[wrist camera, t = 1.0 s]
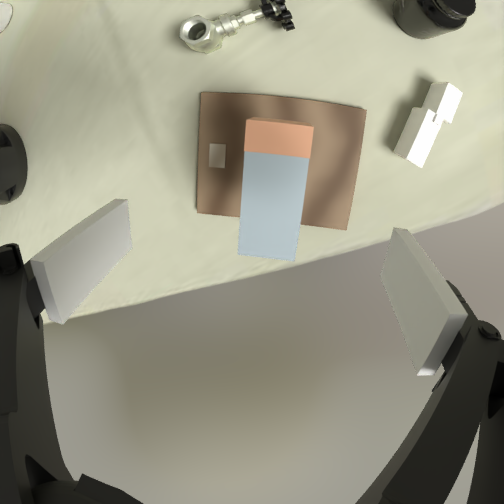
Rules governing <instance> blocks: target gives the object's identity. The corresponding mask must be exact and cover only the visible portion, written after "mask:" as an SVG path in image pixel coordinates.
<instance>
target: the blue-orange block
mask: <svg viewBox="0 0 504 504" xmlns="http://www.w3.org/2000/svg"><path fill="white" fill-rule="evenodd" d="M313 131H314V127H313V126H312V125H311V124H309V123H304V122H297V121H288V120H279V119H269V118H258V117H253V118H250V119H247V120H246V130H245V143H244V151H245V154H244V168H243V182H242V197H241V212H240V227H239V243H238V255H245V256H254V257H262V258H271V259H279V260H288V261H295V255H296V249H297V243H298V236H299V230H300V223H301V216H302V209H303V202H304V195H305V188H306V181H307V173H308V165H309V158H310V155H311V147H312V139H313Z"/></svg>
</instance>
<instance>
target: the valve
mask: <svg viewBox="0 0 504 504" xmlns="http://www.w3.org/2000/svg"><path fill="white" fill-rule="evenodd" d="M261 2H262V5H259V6H260V9H259V10H256V11H253V12H252V10H251V9H248V10H246V11H243V12H240V14H241V15H240V16H237V17H236V16H235V15H232V16H230V17H229V15H228V14H227V13H226V14H223V15H221V16H219V19H218V20H215V21H210V20H206V19H205V18H203V17H201V16H199V15H196V16H194V17H191V18H189V19H187V20H185V21H184V22H182V24H181V28H180V35H179V38H181V39H182V40H184V41H185V42H186V44H187V45H188V46H189V47H190V48H191V49H193V50H195V51H198V52H205V53H206V54H209V53H211V52H213V51H215V50H218V49H220V48H221V47H222V41H223V36H226V35H228V36H229V37H230V36H233V35H235V34H237V31H236V29H239V28H240V25H242V24H244V23H245V24H246V26H247V25H250V24H252V23H255V22H257V21H256V18H259V17H262V16H264V17H265V19H269V18H270V19H271V20H273V21H281V20H283V22H284V23H282V26H283V28H284V29H286V31H289V30H293V29H295V27H294V24H293V22H292V21H291V20H290V19H292V15H291V13H290V11H289V10H287V8H286V6H285V4H284V3H285V0H270V2H268V3H267V1H266V0H261ZM203 34H204V36H202V35H203ZM201 36H202V37H201Z"/></svg>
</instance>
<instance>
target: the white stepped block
mask: <svg viewBox="0 0 504 504" xmlns="http://www.w3.org/2000/svg"><path fill="white" fill-rule="evenodd" d="M462 94H463V93H462V92H461V91H460V90H458V89H457V88H456V87H454V86H453V85H452V84H450V83H449V82H444V83H431V86H430V88H429V91H428V93H427V96H426V98H425V101H424V103H423V105H422V108H416V107H413V108H412V111H411V113H410V115H409V118H408V120H407V122H406V125H405V127H404V129H403V131H402V134H401V136H400V138H399V140H398V142H397V145H396V147H395V149H394V151H393V152H394V153H396V154H397V155H399V156H401V157H403V158H404V159H406V160H408V161H410V162H412V163H413V164H415V165H417V166H419V167H421V168H422V166H423V164H424V162H425V160H426V158H427V156H428V153H429V151H430V149H431V147H432V145H433V142H434V140H435V138H436V136H437V133H438V131H439V129H440V126H441V124H442V122H444V123H449V124H451V122H452V119H453V117H454V114H455V112H456V109H457V107H458V104H459V102H460V99H461V96H462Z"/></svg>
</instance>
